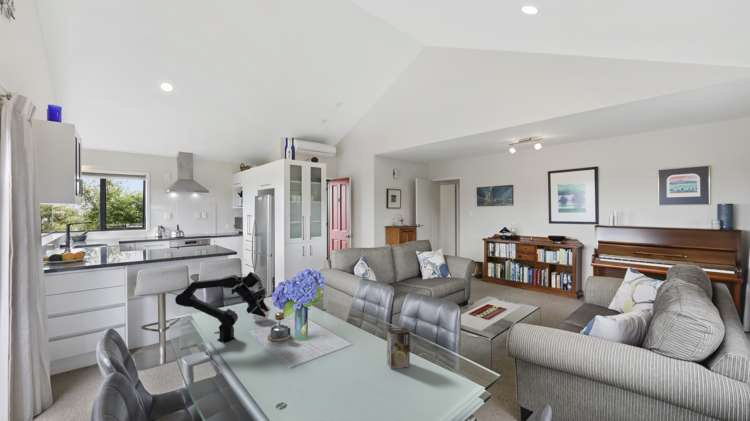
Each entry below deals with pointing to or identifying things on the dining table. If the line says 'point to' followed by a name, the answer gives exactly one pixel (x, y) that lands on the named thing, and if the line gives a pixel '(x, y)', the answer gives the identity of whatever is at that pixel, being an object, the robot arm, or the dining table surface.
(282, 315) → the plunger
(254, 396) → the dining table surface
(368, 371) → the dining table surface
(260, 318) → the lidded jar
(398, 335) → the coffee box
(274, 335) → the press body
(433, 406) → the dining table surface
